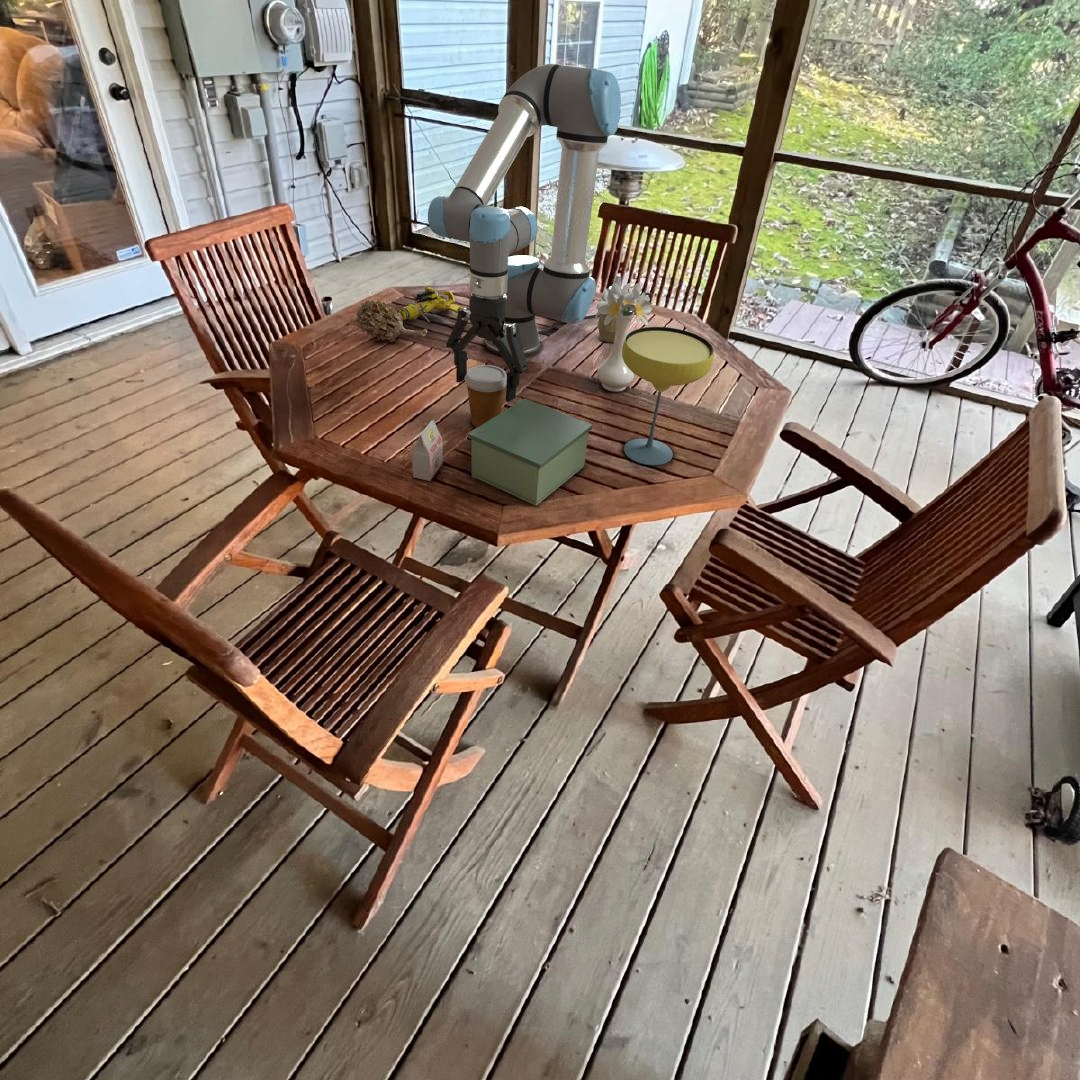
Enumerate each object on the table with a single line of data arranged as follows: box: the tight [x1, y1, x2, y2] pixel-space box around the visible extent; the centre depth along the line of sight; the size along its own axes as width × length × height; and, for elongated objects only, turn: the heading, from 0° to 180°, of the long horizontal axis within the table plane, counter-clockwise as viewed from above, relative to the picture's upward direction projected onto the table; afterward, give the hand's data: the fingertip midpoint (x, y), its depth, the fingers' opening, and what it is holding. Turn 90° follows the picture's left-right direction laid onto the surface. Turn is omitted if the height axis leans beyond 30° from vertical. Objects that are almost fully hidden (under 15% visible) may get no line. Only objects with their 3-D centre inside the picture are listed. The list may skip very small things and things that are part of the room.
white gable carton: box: [411, 419, 444, 482], centre depth 137 cm, size 4×7×10 cm, turn 165°
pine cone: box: [355, 299, 428, 343], centre depth 183 cm, size 22×10×10 cm, turn 70°
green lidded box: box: [467, 398, 594, 507], centre depth 139 cm, size 19×17×10 cm
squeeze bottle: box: [597, 274, 624, 343], centre depth 192 cm, size 8×8×18 cm
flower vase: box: [593, 282, 653, 393], centre depth 167 cm, size 13×18×25 cm
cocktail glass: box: [622, 326, 715, 467], centre depth 143 cm, size 18×18×25 cm
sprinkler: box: [399, 286, 466, 323], centre depth 200 cm, size 19×8×20 cm
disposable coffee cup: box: [464, 364, 507, 428], centre depth 152 cm, size 10×10×12 cm
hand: (485, 390), depth 151 cm, fingers open, 13 cm apart
